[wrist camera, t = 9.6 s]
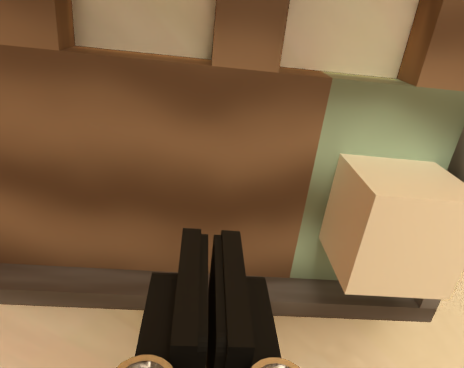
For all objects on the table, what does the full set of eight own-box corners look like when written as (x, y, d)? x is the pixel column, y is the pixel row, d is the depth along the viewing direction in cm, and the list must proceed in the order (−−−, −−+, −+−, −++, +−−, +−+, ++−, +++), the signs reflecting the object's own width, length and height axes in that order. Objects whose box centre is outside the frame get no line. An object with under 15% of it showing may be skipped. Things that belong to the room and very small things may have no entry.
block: (340, 153, 18) (376, 195, 14) (434, 161, 19) (495, 204, 15) (318, 237, 21) (344, 294, 16) (404, 243, 21) (449, 299, 17)
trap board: (-108, -185, 14) (-221, -252, 10) (535, -89, 16) (629, -116, 12) (-12, 254, 22) (-55, 301, 19) (398, 275, 25) (430, 321, 21)
